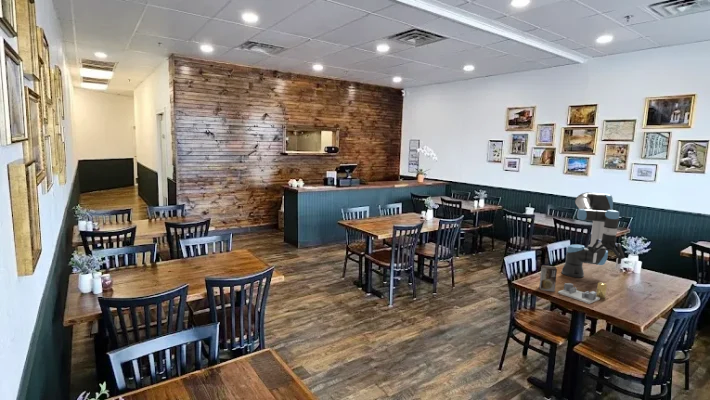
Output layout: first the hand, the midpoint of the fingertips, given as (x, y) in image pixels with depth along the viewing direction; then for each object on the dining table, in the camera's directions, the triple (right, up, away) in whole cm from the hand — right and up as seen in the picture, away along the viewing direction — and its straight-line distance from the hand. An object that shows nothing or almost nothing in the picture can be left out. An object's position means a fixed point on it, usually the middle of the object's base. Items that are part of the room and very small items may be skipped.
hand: (605, 265), depth 256 cm
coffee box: (-32, -19, +13) cm, 40 cm away
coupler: (-1, -21, +3) cm, 22 cm away
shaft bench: (-16, -21, +3) cm, 27 cm away
